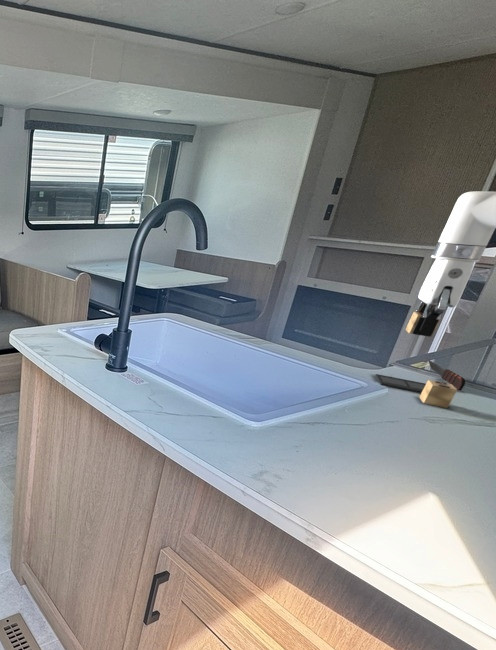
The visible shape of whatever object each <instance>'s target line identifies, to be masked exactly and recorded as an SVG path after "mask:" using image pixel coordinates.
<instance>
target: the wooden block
mask: <svg viewBox="0 0 496 650" xmlns="http://www.w3.org/2000/svg"><path fill="white" fill-rule="evenodd" d="M422 316H423V313H422V312H416V311H413V312H412V315H411V317H410V319H409V320H408V323H407V325H406V327H405V331H406V332H407V333H408V334H410V335H414V334H413V330H414V328H415V326H416V324H417V322H418V320H419V318H420V317H422ZM441 320H442V318H441V317H440V319H439V321H438V323H437V325H436V327H435V329H434V331H433V333H432V335H431V336H429V338H433V336H434V334H435V332H436V329H437V327H438V325H439V324H440V322H441Z"/></svg>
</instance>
